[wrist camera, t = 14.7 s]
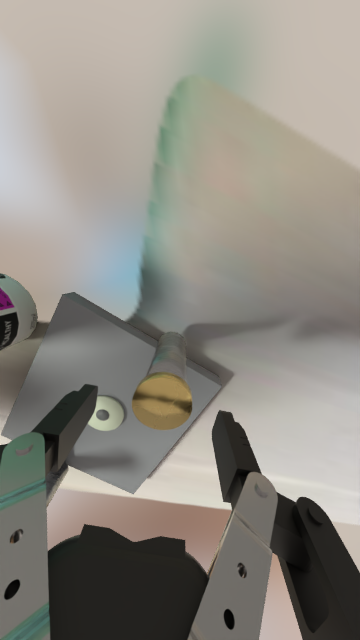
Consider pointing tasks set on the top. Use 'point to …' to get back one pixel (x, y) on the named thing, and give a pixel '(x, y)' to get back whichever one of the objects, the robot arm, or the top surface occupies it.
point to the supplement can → (15, 312)
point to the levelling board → (102, 392)
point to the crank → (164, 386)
